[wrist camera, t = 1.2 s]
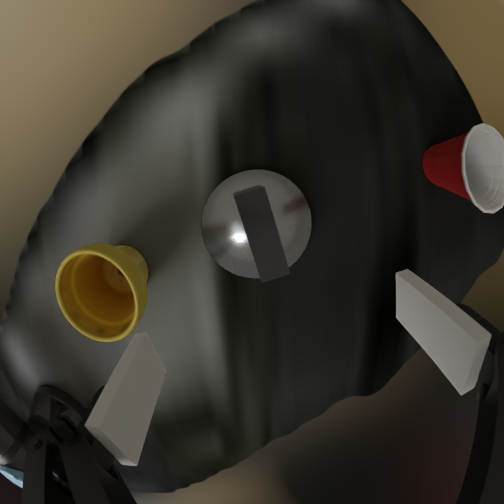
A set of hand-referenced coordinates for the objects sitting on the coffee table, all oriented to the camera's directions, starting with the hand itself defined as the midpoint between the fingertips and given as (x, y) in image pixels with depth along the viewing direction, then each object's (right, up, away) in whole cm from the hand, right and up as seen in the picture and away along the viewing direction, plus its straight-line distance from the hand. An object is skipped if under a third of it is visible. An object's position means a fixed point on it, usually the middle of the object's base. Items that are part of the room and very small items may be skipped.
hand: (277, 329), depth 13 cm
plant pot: (-18, +2, +20) cm, 27 cm away
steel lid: (-1, +7, +20) cm, 22 cm away
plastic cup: (+26, +17, +20) cm, 36 cm away
